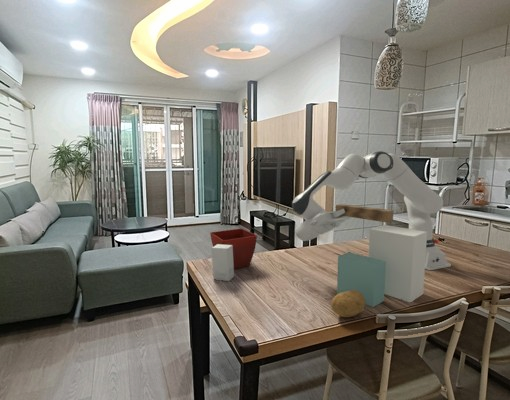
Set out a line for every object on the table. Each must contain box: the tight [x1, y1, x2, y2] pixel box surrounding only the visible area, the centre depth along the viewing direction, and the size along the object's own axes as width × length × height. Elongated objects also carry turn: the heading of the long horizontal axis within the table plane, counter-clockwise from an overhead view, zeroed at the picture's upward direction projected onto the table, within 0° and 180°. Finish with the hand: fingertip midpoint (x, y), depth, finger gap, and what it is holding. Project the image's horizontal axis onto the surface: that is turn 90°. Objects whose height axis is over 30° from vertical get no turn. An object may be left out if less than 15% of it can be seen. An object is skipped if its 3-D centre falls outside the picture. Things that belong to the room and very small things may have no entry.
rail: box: [335, 203, 394, 224], centre depth 122 cm, size 22×4×4 cm, turn 41°
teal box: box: [336, 252, 386, 308], centre depth 126 cm, size 8×16×16 cm, turn 41°
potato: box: [330, 290, 366, 318], centre depth 112 cm, size 10×14×8 cm
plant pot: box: [210, 228, 258, 270], centre depth 166 cm, size 19×19×17 cm
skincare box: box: [211, 244, 235, 282], centre depth 147 cm, size 8×7×16 cm
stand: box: [368, 224, 427, 303], centre depth 131 cm, size 12×18×26 cm, turn 41°
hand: (348, 209), depth 127 cm, fingers closed on rail, 4 cm apart
